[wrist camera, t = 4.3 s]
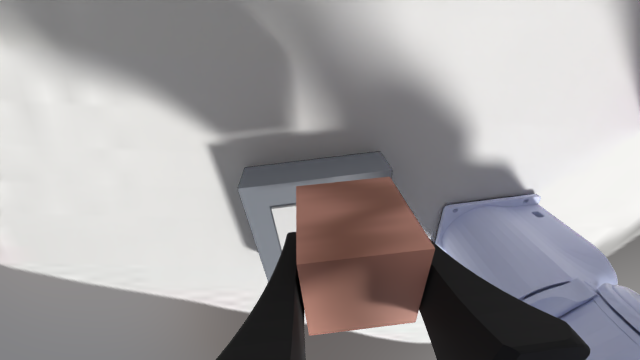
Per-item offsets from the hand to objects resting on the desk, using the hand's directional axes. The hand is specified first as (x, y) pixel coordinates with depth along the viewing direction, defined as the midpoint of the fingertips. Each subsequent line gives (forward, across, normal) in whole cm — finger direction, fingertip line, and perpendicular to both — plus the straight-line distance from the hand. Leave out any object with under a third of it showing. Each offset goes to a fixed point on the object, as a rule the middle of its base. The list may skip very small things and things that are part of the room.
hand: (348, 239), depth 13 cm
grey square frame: (+8, +1, +5) cm, 10 cm away
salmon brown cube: (+2, 0, 0) cm, 2 cm away
